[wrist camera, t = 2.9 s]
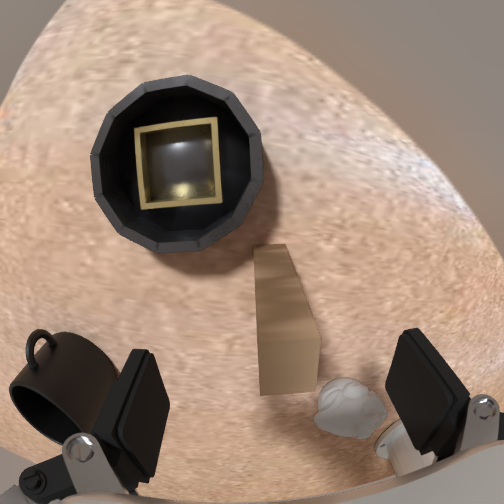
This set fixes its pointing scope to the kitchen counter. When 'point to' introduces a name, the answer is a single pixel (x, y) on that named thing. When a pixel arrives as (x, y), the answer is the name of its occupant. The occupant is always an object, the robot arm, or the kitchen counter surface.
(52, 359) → the mug
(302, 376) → the brown rectangular bar
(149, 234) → the dark grey round tray
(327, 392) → the frog figurine
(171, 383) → the kitchen counter surface
